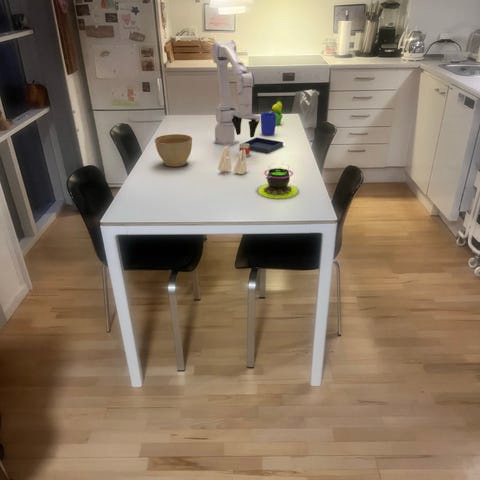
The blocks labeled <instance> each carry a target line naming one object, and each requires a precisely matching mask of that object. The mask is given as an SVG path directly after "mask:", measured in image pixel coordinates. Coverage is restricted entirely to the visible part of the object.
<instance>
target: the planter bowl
mask: <svg viewBox="0 0 480 480" xmlns="http://www.w3.org/2000/svg"><path fill="white" fill-rule="evenodd" d="M154 143H155V148H156V151H157V155H159V157H160V159H161V160H162V161H163V163H164V165H165V166H166V167H171V168H174V167H176V168H177V167H183V166H185V165H186V164H187V160H188V159H189V158H190V156H191V152H192V147H193V137H192V136H191V135H188V134H183V133H182V134H181V133H175V134H174V133H172V134H163V135H159V136H157V137H155V138H154Z"/></svg>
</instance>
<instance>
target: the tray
mask: <svg viewBox="0 0 480 480" xmlns="http://www.w3.org/2000/svg"><path fill="white" fill-rule="evenodd" d="M243 143H247V144H250V152H251V151H252V152H255V153H256V152H258V153H262V154H271V153H272V152H275V151H276V150H278V149H281V148H283V147H284V141H279V140H275V139H268V138H262V137H253V138H251V139H249V140H247V141H244V142H243Z"/></svg>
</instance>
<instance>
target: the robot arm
mask: <svg viewBox="0 0 480 480" xmlns="http://www.w3.org/2000/svg"><path fill="white" fill-rule="evenodd" d="M211 53H212V60H213V63H214V64H216V70H217V80H218V89H219V97H220V103H219V104H218V105H217V106H216V108H215V120H216V122H217V123H216V124H215V127H214V144H219V145H225V146H231V145H234V144H237V143H238V142H239V140H236V139H235V138H236V136H235V133H236V135H237V136H239V135H241V132H242V121H243V120H250V121H248V122H247V123H248V126H249V137H250V138H251V139H253V138H255V133H256V130H257V127H258V126H259V124H260V122H261V115H257V114H254V113H253V88H254V87H255V75H254V73H253V72H251V71H249V70H248V69H247V67H246V65H245V63H244V62H243V61H242V60H240V59H239V57H238V55H237V44H236V42H235V41H234V39H233V40H223V41H216V40H215V41H213V43H212V46H211ZM229 63H230V65H231V72H232V73H233V75H234V77H235V81H236V82H235V83H236V87H237V93H238V108H237V105H236V104H235V103H233V102H232V97H231V88H230V76H229V69H228V65H229Z"/></svg>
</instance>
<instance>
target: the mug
mask: <svg viewBox="0 0 480 480" xmlns="http://www.w3.org/2000/svg"><path fill="white" fill-rule="evenodd" d="M276 116H277V115H276V114H275V113H264V112H261V113H260V132H261V135H263V136H265V137H266V136H267V137H268V136H274V135H275V132H276V126H277V125H276Z"/></svg>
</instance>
